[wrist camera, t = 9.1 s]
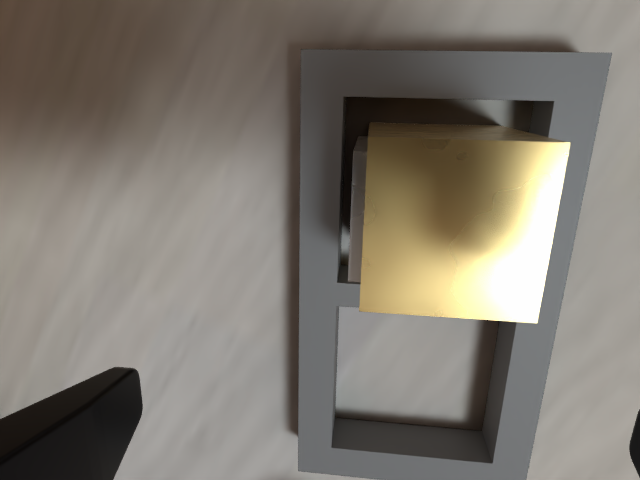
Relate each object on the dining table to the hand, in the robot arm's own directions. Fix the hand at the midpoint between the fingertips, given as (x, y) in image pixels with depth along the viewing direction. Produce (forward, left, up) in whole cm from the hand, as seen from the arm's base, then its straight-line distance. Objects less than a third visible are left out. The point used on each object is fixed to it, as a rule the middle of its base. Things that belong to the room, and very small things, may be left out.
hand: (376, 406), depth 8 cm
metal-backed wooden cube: (+2, +2, -12) cm, 12 cm away
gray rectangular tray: (+2, -2, -12) cm, 12 cm away
